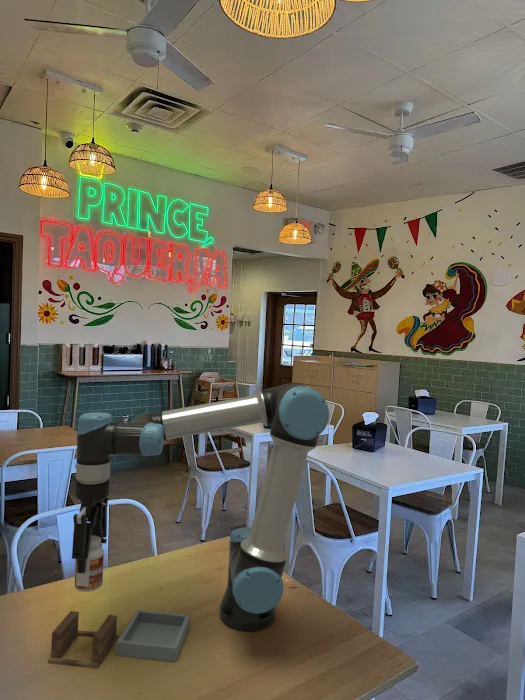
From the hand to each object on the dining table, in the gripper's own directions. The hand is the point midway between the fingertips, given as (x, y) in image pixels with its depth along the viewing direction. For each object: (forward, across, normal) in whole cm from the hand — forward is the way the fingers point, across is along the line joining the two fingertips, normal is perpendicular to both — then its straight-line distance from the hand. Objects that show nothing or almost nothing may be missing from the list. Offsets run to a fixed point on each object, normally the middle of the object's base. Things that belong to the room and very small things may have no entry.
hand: (89, 577), depth 115 cm
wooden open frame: (+17, 0, 0) cm, 17 cm away
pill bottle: (+2, 0, 0) cm, 2 cm away
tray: (+17, -6, +15) cm, 23 cm away
